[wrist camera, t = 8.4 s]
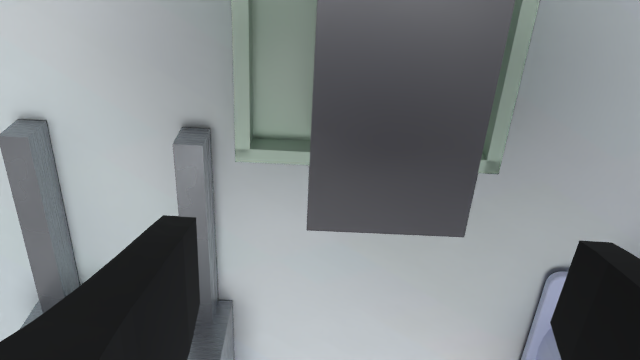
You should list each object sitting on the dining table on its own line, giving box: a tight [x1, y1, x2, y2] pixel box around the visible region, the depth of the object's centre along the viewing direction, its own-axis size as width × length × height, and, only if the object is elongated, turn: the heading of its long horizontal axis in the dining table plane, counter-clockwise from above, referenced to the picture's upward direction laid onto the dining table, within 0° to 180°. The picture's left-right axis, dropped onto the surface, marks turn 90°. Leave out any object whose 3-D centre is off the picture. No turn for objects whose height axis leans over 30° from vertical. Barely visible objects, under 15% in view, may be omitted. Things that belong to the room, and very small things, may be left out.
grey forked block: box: [0, 120, 234, 360], centre depth 20 cm, size 8×12×6 cm, turn 177°
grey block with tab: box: [307, 0, 515, 237], centre depth 15 cm, size 4×8×6 cm, turn 177°
